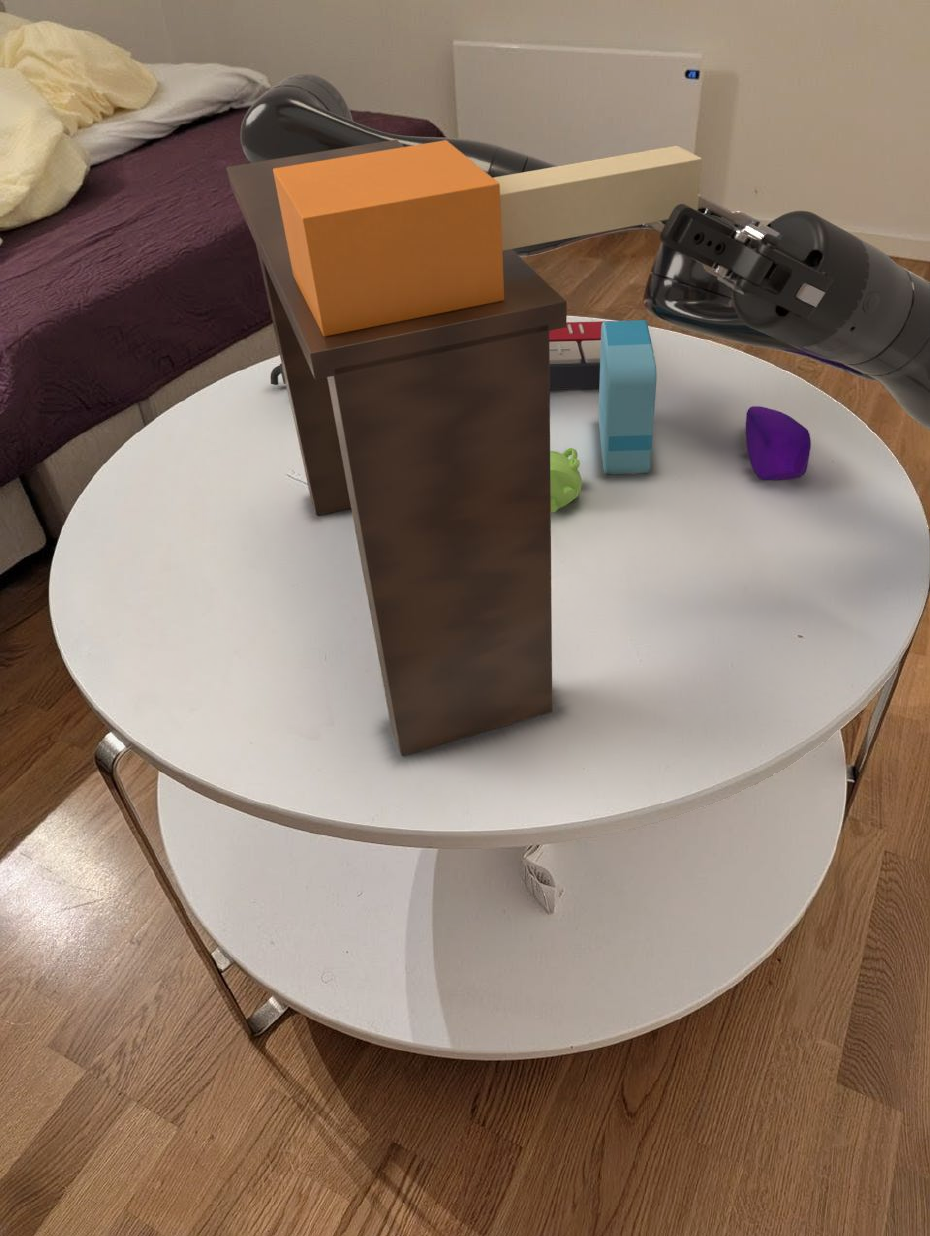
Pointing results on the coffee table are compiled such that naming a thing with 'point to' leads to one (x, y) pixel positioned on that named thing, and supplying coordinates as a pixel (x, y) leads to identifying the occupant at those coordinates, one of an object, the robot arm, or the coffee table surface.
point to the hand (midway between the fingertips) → (635, 200)
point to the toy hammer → (451, 223)
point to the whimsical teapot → (564, 478)
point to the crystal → (776, 444)
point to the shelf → (431, 478)
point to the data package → (626, 396)
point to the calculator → (575, 355)
